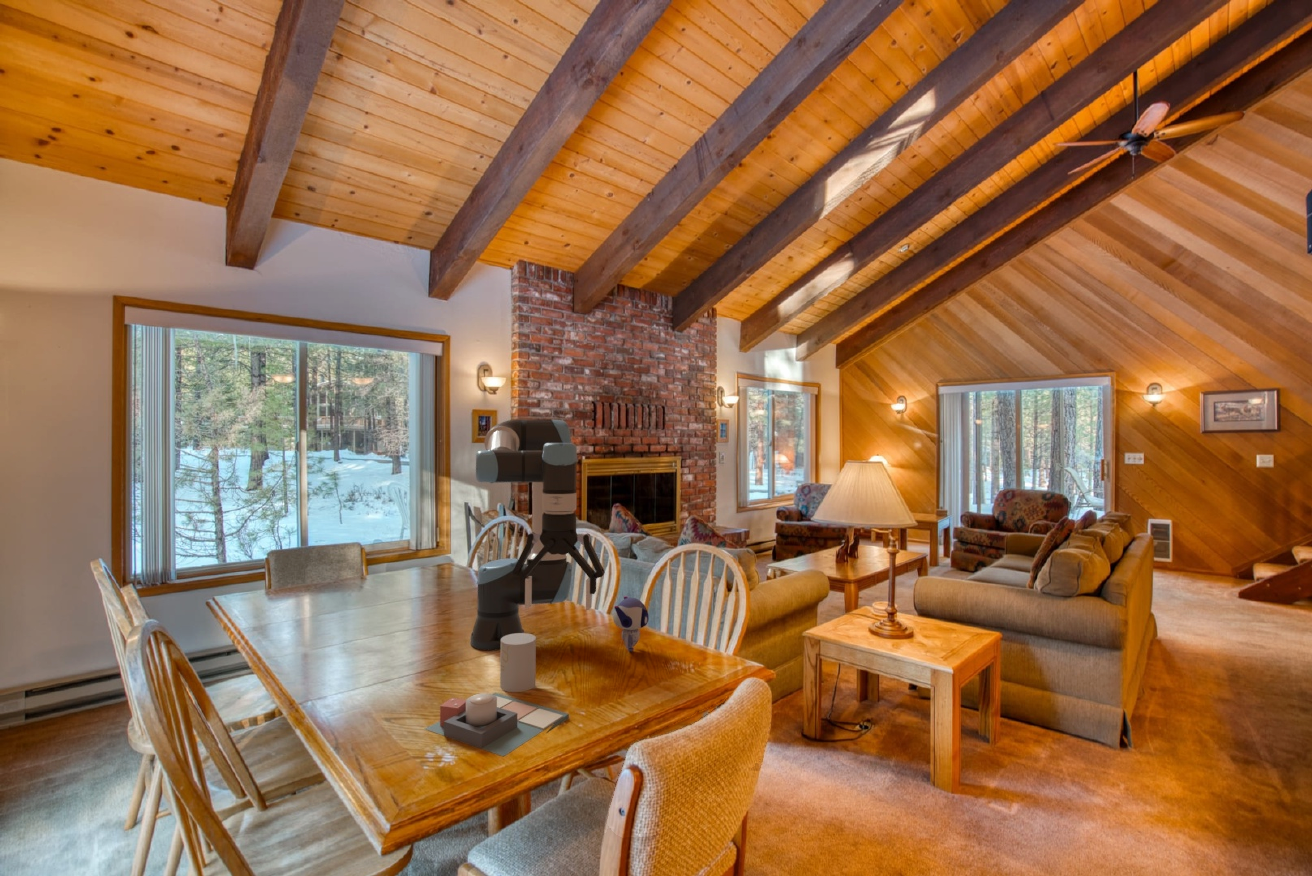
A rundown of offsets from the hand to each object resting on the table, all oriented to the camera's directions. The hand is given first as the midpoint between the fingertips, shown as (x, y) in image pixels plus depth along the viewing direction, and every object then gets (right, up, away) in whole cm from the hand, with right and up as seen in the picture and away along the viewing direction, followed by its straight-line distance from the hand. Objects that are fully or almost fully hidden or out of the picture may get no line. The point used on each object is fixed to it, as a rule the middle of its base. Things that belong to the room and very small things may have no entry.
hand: (558, 607), depth 137 cm
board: (-11, -22, -9) cm, 26 cm away
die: (-20, -21, -10) cm, 31 cm away
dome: (-13, -19, -14) cm, 27 cm away
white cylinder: (-11, -22, +9) cm, 26 cm away
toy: (+15, -22, +35) cm, 44 cm away
